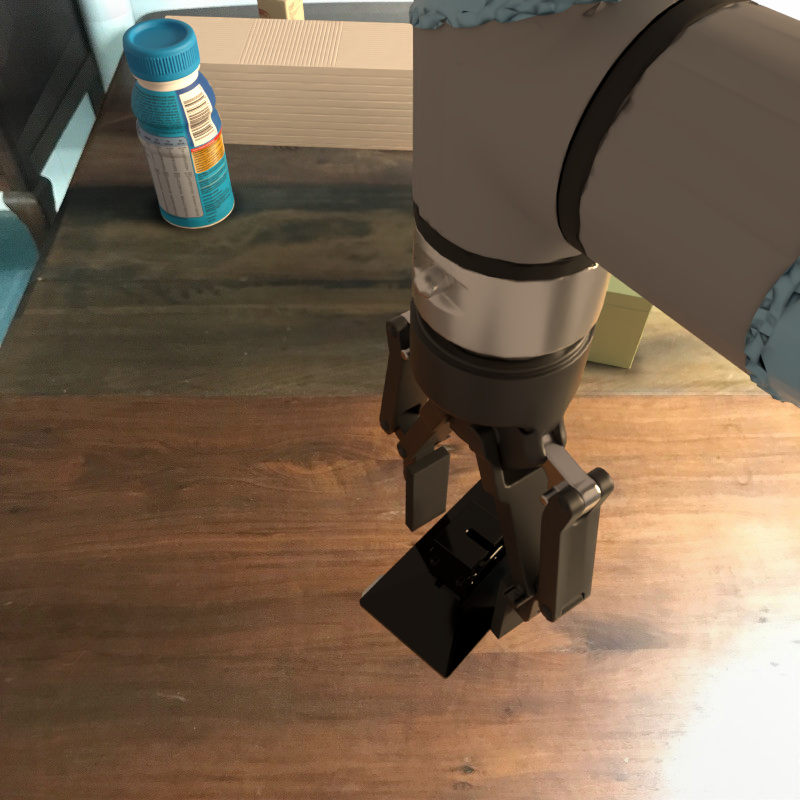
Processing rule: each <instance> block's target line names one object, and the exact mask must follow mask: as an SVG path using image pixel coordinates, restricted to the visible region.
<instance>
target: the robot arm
mask: <svg viewBox="0 0 800 800" xmlns="http://www.w3.org/2000/svg"><path fill="white" fill-rule="evenodd" d="M408 8H409V10H408V21H409V23H410V24H411V25H412V26H413V151H412V175H411V176H412V177H411V178H412V183H411V184H412V186H411V189H412V190H411V191H412V213H413V228H412V229H413V231H412V232H413V234H412V260H411V261H412V263H411V264H412V265H411V295H412V296H411V300H410V307H409V309H408V310H407V311H405V312H402V313H401V314H399V315H397V316H394V317H393V318H390V319H388V320H387V321H386V322H385V332H386V340H387V346H388V357H387V363H386V365H387V366H386V370H385V371H386V372H385V377H384V384H383V391H382V397H381V403H380V410H379V416H378V422H379V425H380V428H381V430H382V431H384V433H385V434H386V435H388V436H390V435H392V434H395V436H396V437H397V439H398V442H397V444H396V450H397V454H398V455H399V456H400V458H401V459H402V472H403V473H402V474H403V478H404V481H405V510H404V511H405V512H404V513H405V514H404V515H405V516H404V520H405V521H404V524H405V525H406V527H407V528H408V529H409V531H410V532H411V533H414V532H415V531H417V530H418V529H420V528H422V527H424V526H425V525H427V524H428V523H430V522H431V521H433V520H435V519H436V518H438V517H439V516H441V515H444V513H447V512H446V510H447V501H448V500H447V498H448V489H449V475H450V467H451V464H450V463H451V453H450V451H448V450H447V448H446V447H445V446H444V445H441V446H439V447H437V448H436V446H437V445H439V444H442V443H443V442H444V441H446V440H449V439H450V438H451V437H452V436H451V433H452V432H453V433H454V434H455V435H456V436H457V438H459V439H461V440H462V441H463V442H464V443H465V444H467V446H468V448H469V451H471V452H472V453H474V455H475V458H476V463H477V467H478V472H479V477H480V479H481V481H482V486H483V489H484V491H486V492H487V493H489V494H490V495H492V496H493V497H494V498H495V502H496V507H497V512H498V516H499V521H500V525H501V530H502V535H503V539H504V544H505V548H506V553H507V557H508V562H509V567H510V571H511V573H509V574H508V575H506V576H505V577H503V578H502V579H501V581H500V586H499V591H498V595H497V600H496V605H495V609H494V614H493V619H492V623H491V628H490V631H491V633H492V634H493V635H494V636H495V638H496V639H497V640H500V639H502V638H503V637H504V636H506V635H507V634H508V633H510V632H511V631H513V630H514V629H515V628H517V627H519V626H520V625H521V624H522V623H527V622H529V621H530V620H532V619H534V617H536V616H538V615H539V614H540V613H541V614H542V616H543V617H544V618H545V620H546V621H548V622H550V623H555V622H556V621H558V620H559V619H561V618H562V617H563V616H565V615H567V613H570V611H572V610H573V609H574V608H576V607H577V606H579V605H580V604H581V603H583V602H584V601H585V600H587V599H588V598H589V597H591V594H592V586H593V577H594V570H595V569H594V568H595V561H596V560H595V559H596V551H597V542H598V533H599V523H600V517H601V516H600V515H601V506H602V505H603V504H604V502H605V501H606V500H607V499H608V498H609V496H610V495H611V494H612V493H613V491H614V490H615V483H614V480H613V478H612V477H611V475H610V473H609V472H608V471H607V470H606V469H604V468H602V467H599V466H596V467H595V468H593V469H592V470H590V471H588V472H587V471H586V470H584V469H583V468H582V467H581V466H580V464H579V463H578V462H577V461H576V460H575V459H574V457H573V456H572V455H571V454H570V453H569V452H568V450H567V449H566V446H567V442H568V434H567V429H566V425H565V413H566V412H567V410H568V408H569V406H570V404H571V402H572V400H573V399H574V397H575V395H576V393H577V392H578V389H579V388H580V385H581V382H582V381H583V376H584V372H585V369H586V366H587V361H588V360H587V358H588V354H589V351H590V347H591V344H592V340H593V336H594V332H595V327H596V322H597V320H598V317H599V315H600V312H601V310H602V307H603V303H604V299H605V295H606V291H607V287H608V284H609V280H610V276H611V274H612V275H613V276H614V277H616V278H617V279H618V280H620V281H621V282H623V283H624V284H625V285H627V286H628V287H629V288H631V289H632V290H633V291H635V292H636V293H637V294H639V295H640V296H642V297H643V298H644V299H646V300H647V301H648V302H650V303H651V304H652V305H653V307H654V308H656V309H658V310H659V311H661V313H663V314H664V315H666V316H667V317H669V319H671V320H673V322H675V323H676V324H678V325H679V326H681V327H682V328H683V329H685V330H686V331H687V332H689V333H690V334H691V335H693V336H695V338H697V339H699V340H700V341H702V343H704V344H705V345H706V346H708V347H709V348H710V349H712V350H713V351H715V352H716V353H717V354H718V355H720V356H721V357H723V358H724V359H725V360H727V361H729V362H730V363H731V364H732V365H734V366H735V367H736V368H738V369H739V370H741V372H743V373H745V374H746V375H747V376H748V377H749V379H750V381H751V382H752V383H754V384H756V387H757V388H759V389H761V390H762V391H764V392H765V393H766V394H768V395H769V396H771V398H772V400H775V401H779V402H781V403H782V404H783V403H789V404H792V405H793V406H795V407H796V408H798V409H800V20H799V19H797V18H795V17H792V16H789V15H787V14H785V13H782V12H779V11H777V10H775V9H772V8H770V7H767V6H765V5H762V4H759V3H758V2H756V1H754V0H413V2H412V3H411V4H410V5H409V7H408ZM435 448H436V449H435Z"/></svg>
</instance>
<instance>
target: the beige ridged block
mask: <svg viewBox="0 0 800 800" xmlns="http://www.w3.org/2000/svg"><path fill="white" fill-rule="evenodd" d="M164 18H169V19H176V20H180V21H183V22H185V23H187V24H189V25H190V26H191V27H192V28H193V30H194V33H195V35H196V38H197V43H198V49H199V54H200V67H199V71H200V72H201V73H202V74H203V76H204V77H205V78H206V79H207V81H208V82H209V84H210V85H211V87H212V89H213V91H214V94H215V98H216V103H215V108H216V110H217V111H218V113H219V115H220V119H221V123H222V131H221V132H222V137H223V143H224V145H225V144H228V145H256V146H278V147H280V146H281V147H309V148H330V149H331V148H333V149H335V148H336V149H358V150H359V149H365V150H389V151H411V152H413V26H412V25H411V24H410V23H408V22H407V23H406V22H377V21H374V22H373V21H345V20H317V19H316V20H315V19H314V20H313V19H304V20H288V19H260V18H255V17H253V18H252V17H228V16H227V17H226V16H225V17H224V16H221V17H219V16H191V15H165V17H164Z"/></svg>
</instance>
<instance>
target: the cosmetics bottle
mask: <svg viewBox="0 0 800 800" xmlns="http://www.w3.org/2000/svg"><path fill="white" fill-rule="evenodd" d="M256 4H257V11H258V16H259V18H258V19H288V20H305V12H304V2H303V0H256Z"/></svg>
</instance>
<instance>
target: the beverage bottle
mask: <svg viewBox="0 0 800 800" xmlns="http://www.w3.org/2000/svg"><path fill="white" fill-rule="evenodd" d="M122 49H123V51H124V56H125V58H126V59H125V60H126V63H127V66H128V69H129V71H130V74H132V76H133V77H134V78H135V81H134V83H133V86H132V90H131V95H130V96H131V97H130V106H131V111H132V113H133V115H134V117H136V122H135V127H136V133H137V137H138V140H139V143H140V144H141V145H142V148H143V151H144V155H145V160H146V162H147V165H148V169H149V173H150V176H151V179H152V183H153V187H154V191H155V194H156V198H157V201H158V207H159V211H160V215H161V216H162V218H163V220H165V221H166V222H168V223H169V224H170V225H172V226H174V227H177V228H182V229H188V230H189V229H190V230H191V229H192V230H194V229H203V228H207V227H208V228H209V227H212V226H214V225H217V224H218V223H220V222H222V221H223V220H225V219H226V218H228V216H230V214H231V213H232V211H233V210H234V208H235V197H234V192H233V188H232V183H231V177H230V171H229V167H228V166H229V165H228V161H227V156H226V149H225V144H224V143H223V137H222V132H221V131H222V123H221V119H220V115H219V113H218V111H217V110H216V108H215V103H216V98H215V94H214V91H213V89H212V87H211V85H210V84H209V82H208V81H207V79H206V78H205V77H204V76H203V74H202V73H201V72H200V71H199V67H200V54H199V49H198V43H197V38H196V35H195V33H194V30H193V28H192V27H191V26H190V25H189V24H187V23H185V22H183V21H180V20H176V19H169V18H165V17H162V18H161V17H160V18H151V19H147V20H143V21H140V22H137V23H135V24H133V25H131V26H130V27H128V29H126V31H125V32H123V35H122Z"/></svg>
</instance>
